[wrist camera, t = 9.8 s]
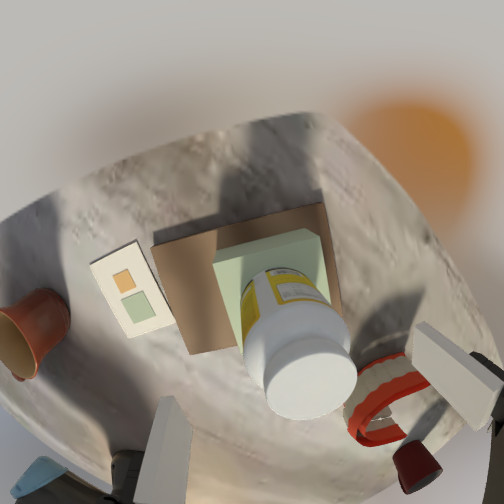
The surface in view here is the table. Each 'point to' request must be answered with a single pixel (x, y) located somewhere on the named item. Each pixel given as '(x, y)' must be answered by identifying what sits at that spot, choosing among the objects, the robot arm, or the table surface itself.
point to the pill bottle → (295, 345)
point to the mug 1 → (31, 331)
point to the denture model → (380, 399)
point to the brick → (267, 267)
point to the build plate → (204, 278)
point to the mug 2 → (415, 467)
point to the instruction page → (132, 291)
